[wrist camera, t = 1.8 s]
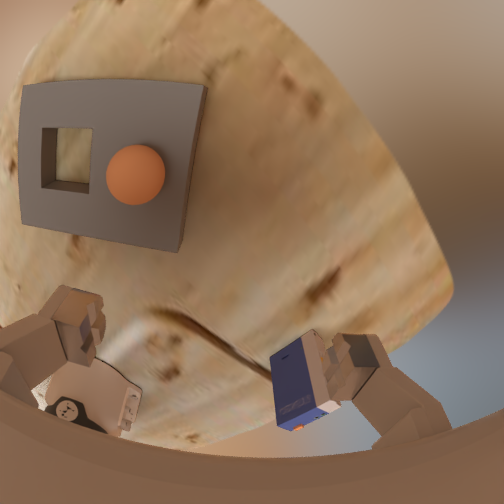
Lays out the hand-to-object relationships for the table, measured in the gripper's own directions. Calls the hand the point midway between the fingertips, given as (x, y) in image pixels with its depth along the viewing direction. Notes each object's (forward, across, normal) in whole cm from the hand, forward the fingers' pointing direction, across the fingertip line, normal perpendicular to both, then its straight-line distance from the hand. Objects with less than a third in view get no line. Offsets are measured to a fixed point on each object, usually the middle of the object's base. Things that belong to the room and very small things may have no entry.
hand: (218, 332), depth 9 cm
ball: (+16, -8, 0) cm, 18 cm away
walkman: (+21, +13, -22) cm, 33 cm away
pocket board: (+21, -14, 0) cm, 25 cm away
